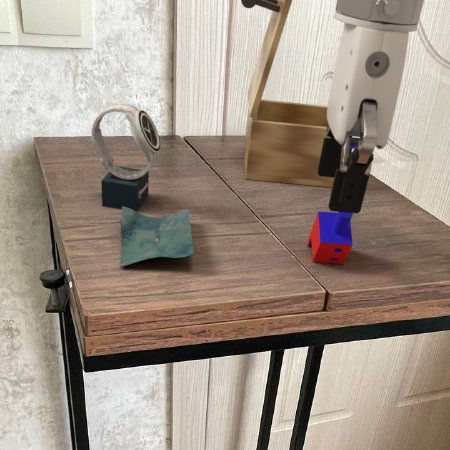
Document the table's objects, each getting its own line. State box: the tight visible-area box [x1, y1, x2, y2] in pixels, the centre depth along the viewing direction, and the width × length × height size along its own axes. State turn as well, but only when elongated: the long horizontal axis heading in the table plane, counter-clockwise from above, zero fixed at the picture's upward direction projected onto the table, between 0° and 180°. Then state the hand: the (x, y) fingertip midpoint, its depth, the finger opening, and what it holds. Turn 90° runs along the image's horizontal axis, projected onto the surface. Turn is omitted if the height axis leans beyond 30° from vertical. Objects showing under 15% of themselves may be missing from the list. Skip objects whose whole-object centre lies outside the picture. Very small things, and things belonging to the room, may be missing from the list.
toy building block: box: [306, 211, 354, 265], centre depth 69 cm, size 4×4×8 cm
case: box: [243, 98, 334, 188], centre depth 90 cm, size 14×12×8 cm
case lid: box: [240, 0, 293, 118], centre depth 82 cm, size 14×12×6 cm
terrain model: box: [119, 206, 195, 267], centre depth 70 cm, size 13×8×2 cm, turn 5°
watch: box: [90, 103, 162, 212], centre depth 75 cm, size 6×8×11 cm
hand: (337, 192), depth 67 cm, fingers open, 9 cm apart
